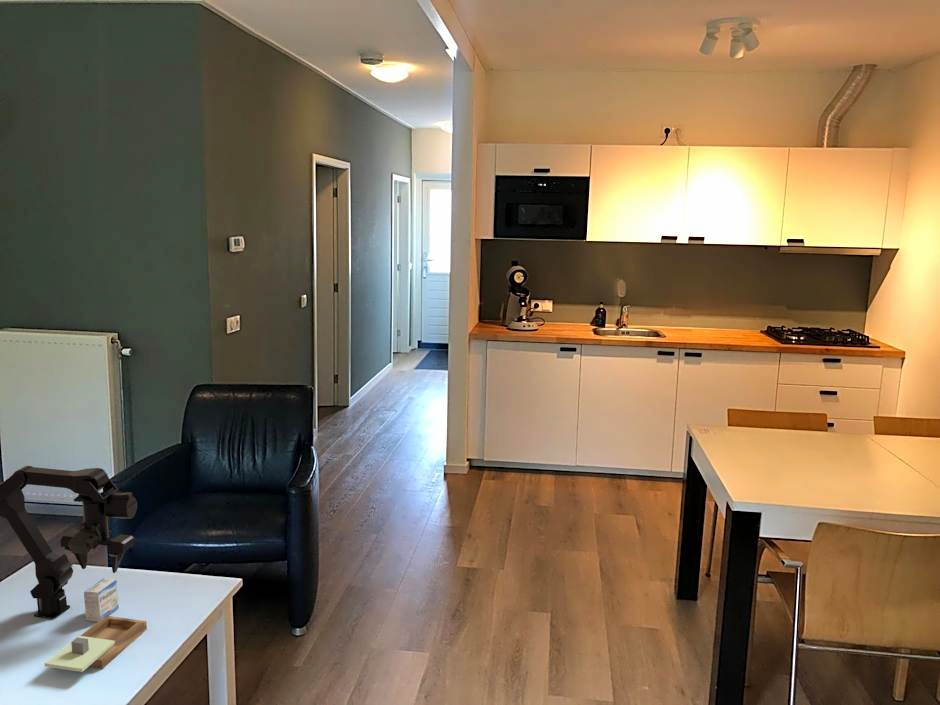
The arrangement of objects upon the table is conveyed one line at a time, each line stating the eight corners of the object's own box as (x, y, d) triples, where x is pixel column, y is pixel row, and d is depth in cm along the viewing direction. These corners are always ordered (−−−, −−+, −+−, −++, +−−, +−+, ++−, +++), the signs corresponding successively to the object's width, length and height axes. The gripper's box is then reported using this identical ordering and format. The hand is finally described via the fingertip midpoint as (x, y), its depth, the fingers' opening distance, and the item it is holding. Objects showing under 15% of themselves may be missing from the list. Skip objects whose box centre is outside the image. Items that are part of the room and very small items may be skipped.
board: (58, 662, 185) (57, 653, 184) (106, 623, 202) (105, 615, 202) (102, 669, 183) (101, 660, 182) (146, 629, 200) (146, 621, 200)
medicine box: (100, 623, 202) (98, 593, 201) (85, 620, 203) (83, 591, 202) (119, 608, 210) (117, 579, 208) (105, 606, 211) (103, 577, 209)
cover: (44, 666, 179) (43, 651, 178) (79, 638, 190) (78, 624, 190) (82, 671, 177) (81, 657, 176) (115, 643, 189) (114, 629, 188)
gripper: (42, 524, 195) (47, 580, 198) (107, 532, 192) (111, 588, 195) (72, 508, 206) (76, 561, 209) (134, 515, 203) (137, 569, 206)
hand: (99, 570), depth 204 cm, fingers open, 9 cm apart
